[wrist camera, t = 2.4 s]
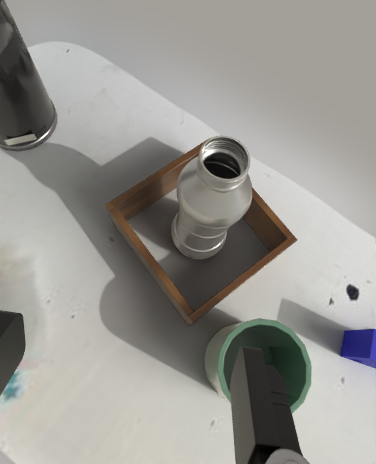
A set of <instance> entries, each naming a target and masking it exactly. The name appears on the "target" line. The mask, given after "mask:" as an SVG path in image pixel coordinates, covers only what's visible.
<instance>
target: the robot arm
mask: <svg viewBox="0 0 376 464" xmlns="http://www.w3.org/2000/svg"><path fill="white" fill-rule="evenodd" d="M56 123H57V113H56V109H55V107H54V105H53V103H52V101H51V99H50V98H49V96H48V94H47V91H46V89H45V87H44V84H43V82H42V80H41V78H40V76H39V74H38V71H37V69H36V67H35V65H34V63H33V61H32V58H31V56H30V54H29V52H28V50H27V48H26V45H25V43H24V41H23V39H22V37H21V34H20V33H19V30H18V28H17V26H16V24H15V21H14V19H13V17H12V15H11V13H10V11H9V9H8V7H7V4H6V2H5V0H0V147H2V148H4V149H8V150H14V151H21V150H27V149H31V148H34V147H36V146H38V145H40V144H42V143H43V142H44V141H46V140H47V139H48V138H49V137H50V136H51V134H52V133H53V131H54V129H55V127H56ZM24 352H25V333H24V322H23V315H22V314H21V313H15V312H8V311H1V310H0V395H1V393H2V392H3V390H4V388H5V387H6V385H7V384H8V382H9V380H10V379H11V377H12V375H13V374H14V372H15V370H16V369H17V367H18V365H19V364H20V362H21V360H22V358H23V355H24ZM230 393H231V407H232V420H233V433H234V446H235V459H236V464H309V462H308V461H307V460H306V459H305V458H304V457H303V455H302V453H301V450H300V446H299V442H298V438H297V433H296V429H295V425H294V421H293V417H292V413H291V409H290V406H289V400H288V396H287V395H286V388H285V384H284V380H283V378H282V376H281V375H280V373H279V372H278V370H277V369H276V367H275V366H273V365H266V364H265V362H264V356H263V352H262V349H260V348H253V347H246V346H241V347H240V349H239V352H238V355H237V359H236V362H235V365H234V369H233V372H232V376H231V384H230Z"/></svg>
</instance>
